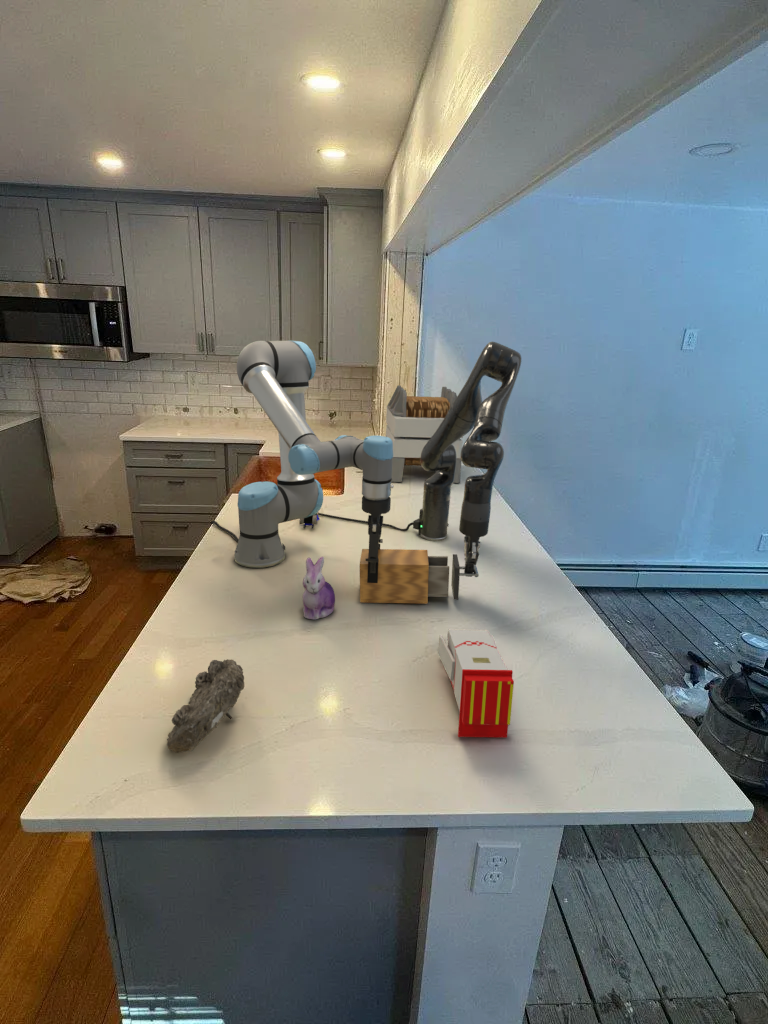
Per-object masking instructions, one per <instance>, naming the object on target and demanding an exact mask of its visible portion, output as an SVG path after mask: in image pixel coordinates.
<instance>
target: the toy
mask: <svg viewBox="0 0 768 1024" xmlns="http://www.w3.org/2000/svg"><path fill="white" fill-rule="evenodd" d="M446 640H447V643H446V641H445V639H444V636H443V635H442V634H439V637H438V646H437V656H438V657H439V659H440V661H441V663H442V666H443V668H444V670H445V672H446V674H447V677H448V679H449V681H450V684H451V687H452V690H453V693H454V697H455V701H456V705H457V708H458V711H459V714H458V715H459V716H458V730H457V731H458V732H457V737H458V738H508V731H509V726H510V725H511V717H512V707H513V697H514V696H513V695H514V684H515V680H514V679H513V673H514V671H513V670H512V669H508V667H507V665H506V662H505V661H504V659H503V658H502V655H501V653H500V651H499V649H498V647H497V643H496V639H495V637H494V635H493V634H491V632H490V631H489V629H467V628H466V629H465V628H463V629H461V628H460V629H459V628H448V630H447V639H446Z"/></svg>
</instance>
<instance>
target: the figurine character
mask: <svg viewBox="0 0 768 1024" xmlns="http://www.w3.org/2000/svg"><path fill="white" fill-rule="evenodd" d="M318 513H319V512H318ZM318 513H316V514H315V515H312V516H309V517H307V518H300V519H298V522H299V523H298V524H299V525H300V526H303V527H302V528H303V529H304V530H305V529H306V528H307V526H308V527H310V526H311V530H313V529H314V527H315V526H316V525H318V521H319V520H320V517H319V515H318Z"/></svg>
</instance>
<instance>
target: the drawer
mask: <svg viewBox="0 0 768 1024" xmlns="http://www.w3.org/2000/svg"><path fill="white" fill-rule="evenodd" d="M428 562H429V574H428V597H432V598H433V597H435V598H436V597H438V598H442V597H443V598H448V597H449V587H450V565H448V563H449V556H447V555H445V556H444V555H442V556H440V555H428ZM451 562H452V565H451V591H452V598H453V600H454V601H459V593H460V577H468V576H472V577H474V578H478V577H479V576H480V574H479V570H478V567H477V565H474V569H473V573H464V572H460V571H461V570H465V566H461V565H460V562H459V557H458V554H454V553H453V554H452V561H451Z"/></svg>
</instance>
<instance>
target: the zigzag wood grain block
mask: <svg viewBox="0 0 768 1024" xmlns="http://www.w3.org/2000/svg"><path fill="white" fill-rule="evenodd" d="M368 553H369V548H362V549H361V553H360V559H359V602H360V603H366V604H367V603H368V604H369V603H370V604H373V603H375V604H424V605H425V604H429V603H428V602H429V601H428V600H429V596H428V574H429V562H428V556H429V551H428V549H401V548H398V549H395V548H394V549H393V548H391V549H389V548H380V549H378V560H379V561H378V583H367V577H368V561H366V559H368Z"/></svg>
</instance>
